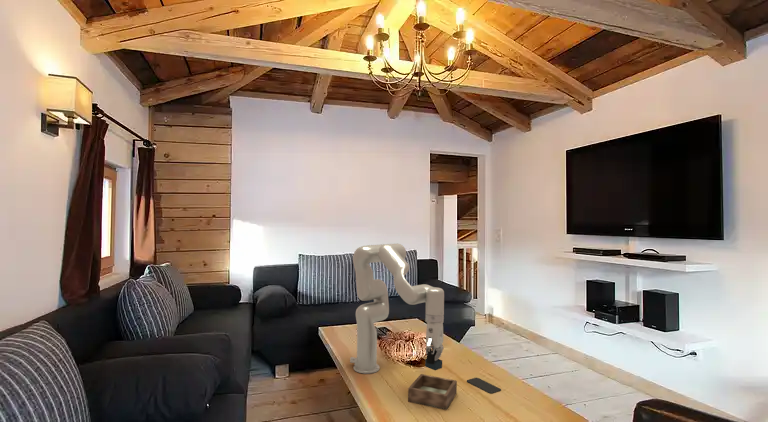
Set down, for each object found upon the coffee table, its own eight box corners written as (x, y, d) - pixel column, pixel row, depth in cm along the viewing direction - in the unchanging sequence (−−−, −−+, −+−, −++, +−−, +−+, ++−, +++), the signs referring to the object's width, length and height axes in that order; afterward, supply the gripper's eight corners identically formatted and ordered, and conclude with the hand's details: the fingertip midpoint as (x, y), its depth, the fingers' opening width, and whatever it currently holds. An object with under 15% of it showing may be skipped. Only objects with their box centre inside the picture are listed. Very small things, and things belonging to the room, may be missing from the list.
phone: (490, 393, 176) (465, 380, 189) (490, 395, 176) (465, 382, 189) (502, 389, 180) (477, 377, 193) (502, 391, 180) (476, 378, 193)
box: (408, 401, 168) (408, 388, 168) (420, 386, 183) (420, 373, 183) (446, 410, 162) (446, 396, 162) (456, 393, 176) (456, 380, 176)
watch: (445, 366, 173) (445, 340, 172) (432, 371, 167) (432, 344, 167) (435, 362, 177) (435, 337, 177) (422, 367, 171) (422, 340, 171)
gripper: (437, 324, 162) (436, 368, 162) (448, 314, 178) (448, 354, 178) (419, 321, 165) (418, 365, 165) (432, 312, 181) (431, 352, 181)
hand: (433, 359), depth 172 cm, fingers closed on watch, 8 cm apart
